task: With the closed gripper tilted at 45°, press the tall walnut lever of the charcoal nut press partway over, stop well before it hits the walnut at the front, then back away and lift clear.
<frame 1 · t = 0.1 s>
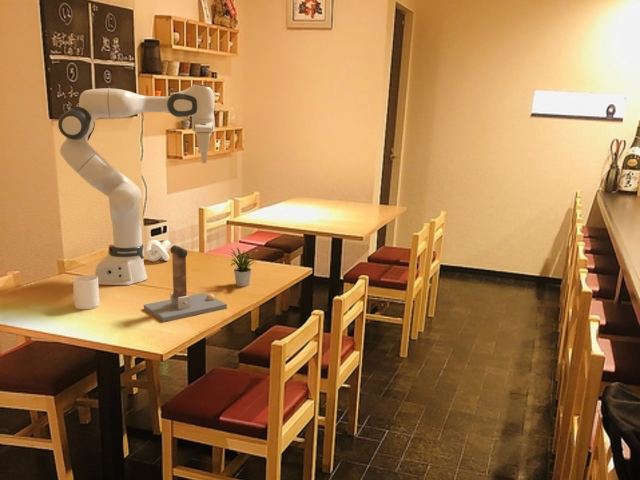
hand: (204, 161, 239), 48 cm above the table, tool pointing down, fingers open, 8 cm apart
house plant: (239, 285, 241), on the table
press base: (180, 309, 210), on the table
mug: (89, 305, 213), on the table
white knot sculpture: (160, 260, 275), on the table
lever: (179, 273, 207), point 13 cm above the table, hinge at 0.0°
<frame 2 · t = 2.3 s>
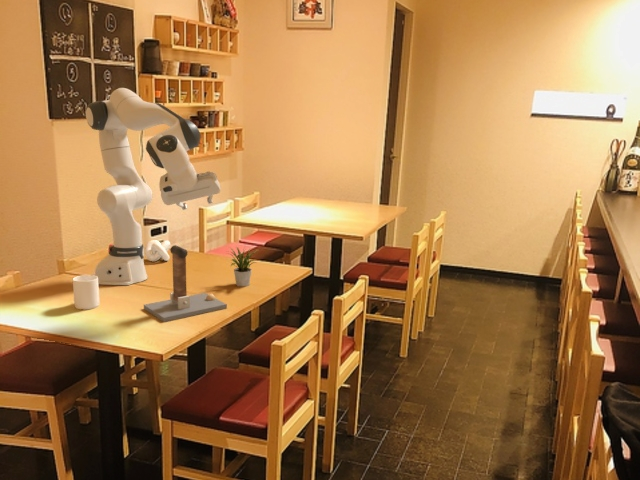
hand: (197, 205, 212), 36 cm above the table, tool tilted 40°, fingers open, 8 cm apart
nothing on the table moved.
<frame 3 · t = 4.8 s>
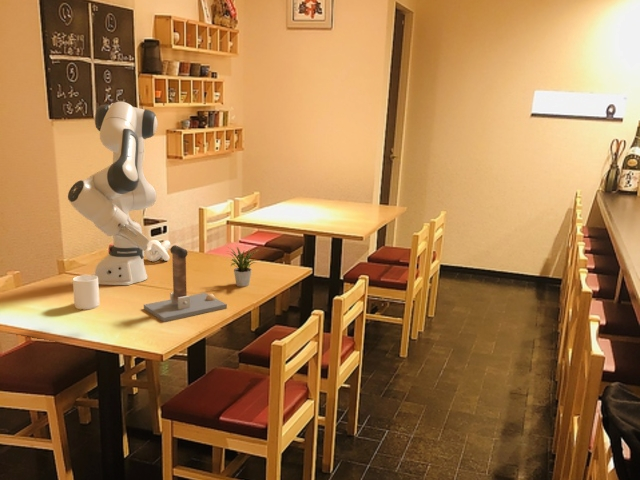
hand: (144, 248, 197), 24 cm above the table, tool tilted 45°, fingers closed
nothing on the table moved.
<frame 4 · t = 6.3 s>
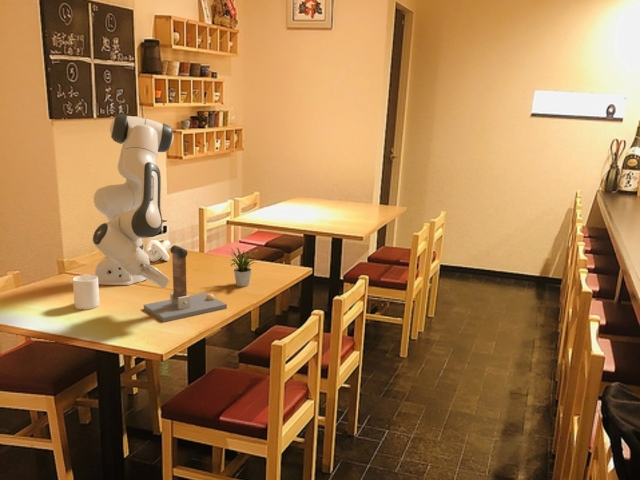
hand: (164, 285, 204), 10 cm above the table, tool tilted 45°, fingers closed
nothing on the table moved.
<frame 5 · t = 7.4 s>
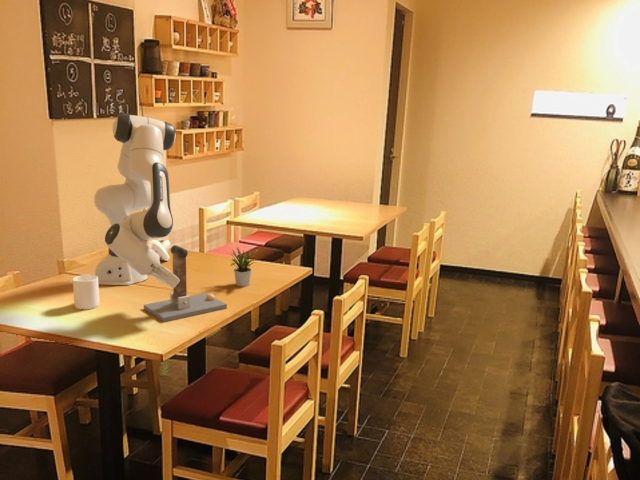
hand: (174, 285, 207), 9 cm above the table, tool tilted 45°, fingers closed, pressing on lever
lever: (179, 273, 207), point 13 cm above the table, hinge at 0.3°, touching gripper
everything else where it was.
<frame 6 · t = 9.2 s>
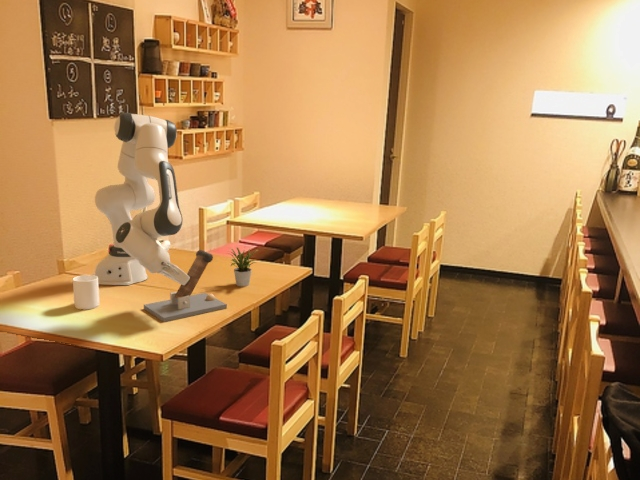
hand: (183, 283, 209), 10 cm above the table, tool tilted 45°, fingers closed
lever: (193, 276, 211), point 11 cm above the table, hinge at 33.9°
everything else where it was.
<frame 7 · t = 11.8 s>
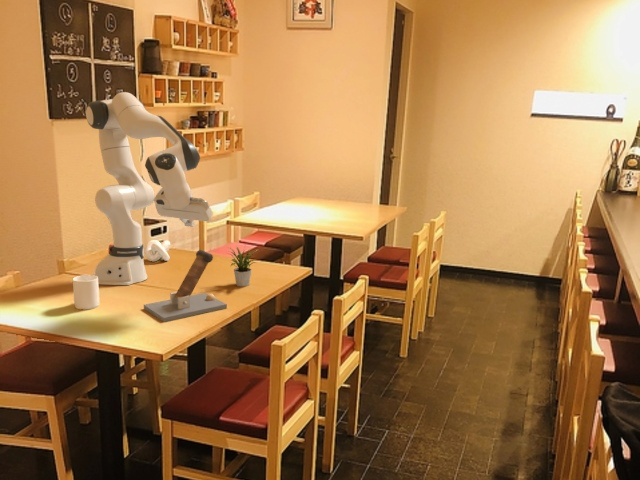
hand: (189, 225, 215), 28 cm above the table, tool tilted 35°, fingers closed
nothing on the table moved.
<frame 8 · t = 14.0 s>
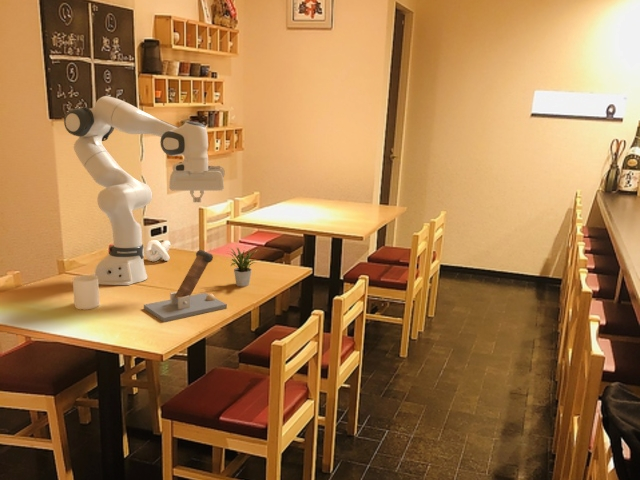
hand: (197, 202, 228), 34 cm above the table, tool pointing down, fingers closed
nothing on the table moved.
at the end: lever at +34° (first picture: +0°) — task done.
